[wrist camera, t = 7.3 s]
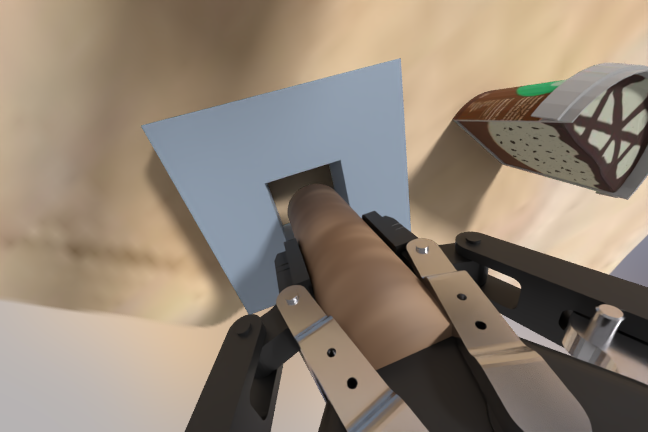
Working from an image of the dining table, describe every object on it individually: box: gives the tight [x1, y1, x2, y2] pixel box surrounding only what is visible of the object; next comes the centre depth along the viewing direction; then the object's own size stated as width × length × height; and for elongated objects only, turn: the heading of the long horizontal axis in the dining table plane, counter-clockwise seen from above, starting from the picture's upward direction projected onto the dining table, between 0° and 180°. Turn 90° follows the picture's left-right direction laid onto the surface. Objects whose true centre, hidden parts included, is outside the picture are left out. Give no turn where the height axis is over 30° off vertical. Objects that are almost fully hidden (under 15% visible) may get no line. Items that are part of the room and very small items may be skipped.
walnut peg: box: [288, 184, 452, 371], centre depth 12 cm, size 4×4×12 cm
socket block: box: [141, 58, 411, 314], centre depth 20 cm, size 16×16×4 cm
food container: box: [453, 63, 648, 200], centre depth 19 cm, size 12×6×10 cm, turn 60°
